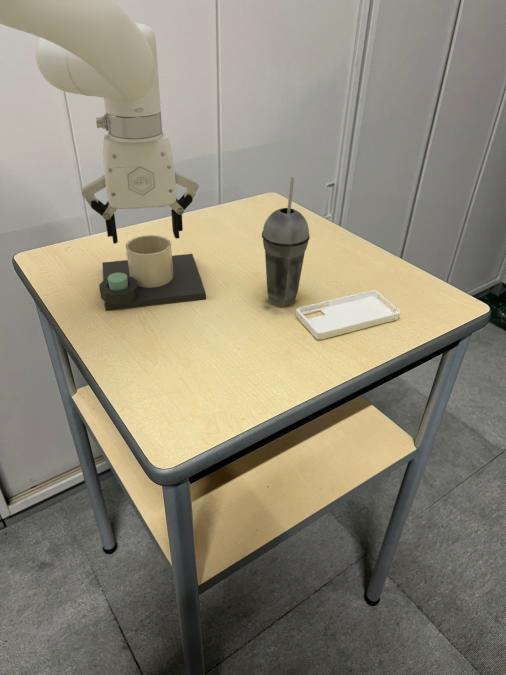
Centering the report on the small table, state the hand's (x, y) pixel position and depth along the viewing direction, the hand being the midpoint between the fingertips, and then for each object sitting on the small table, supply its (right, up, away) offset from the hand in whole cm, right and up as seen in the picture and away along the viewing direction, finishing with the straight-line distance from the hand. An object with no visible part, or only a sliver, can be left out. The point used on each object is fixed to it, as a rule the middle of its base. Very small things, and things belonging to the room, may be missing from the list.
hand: (146, 237), depth 83 cm
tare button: (-4, -8, -1) cm, 9 cm away
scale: (0, -7, +5) cm, 9 cm away
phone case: (+32, -13, -2) cm, 35 cm away
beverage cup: (+22, -10, +2) cm, 24 cm away
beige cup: (0, -6, +5) cm, 7 cm away
